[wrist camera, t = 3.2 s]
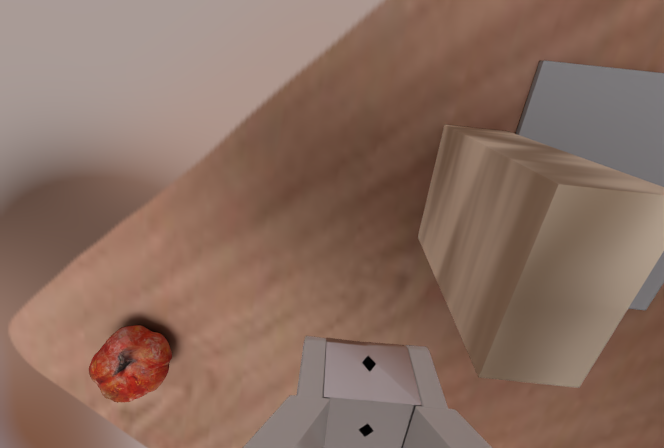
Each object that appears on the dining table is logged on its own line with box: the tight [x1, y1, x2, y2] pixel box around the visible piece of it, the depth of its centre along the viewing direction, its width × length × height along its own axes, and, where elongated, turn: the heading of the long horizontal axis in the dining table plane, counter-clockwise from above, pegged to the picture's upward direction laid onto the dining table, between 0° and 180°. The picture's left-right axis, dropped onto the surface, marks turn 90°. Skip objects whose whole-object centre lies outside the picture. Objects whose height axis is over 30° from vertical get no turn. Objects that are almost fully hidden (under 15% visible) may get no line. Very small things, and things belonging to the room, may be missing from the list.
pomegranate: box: [89, 325, 172, 403], centre depth 27 cm, size 6×6×8 cm
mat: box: [516, 61, 664, 310], centre depth 22 cm, size 14×16×1 cm
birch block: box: [418, 125, 664, 388], centre depth 16 cm, size 4×8×12 cm, turn 174°
